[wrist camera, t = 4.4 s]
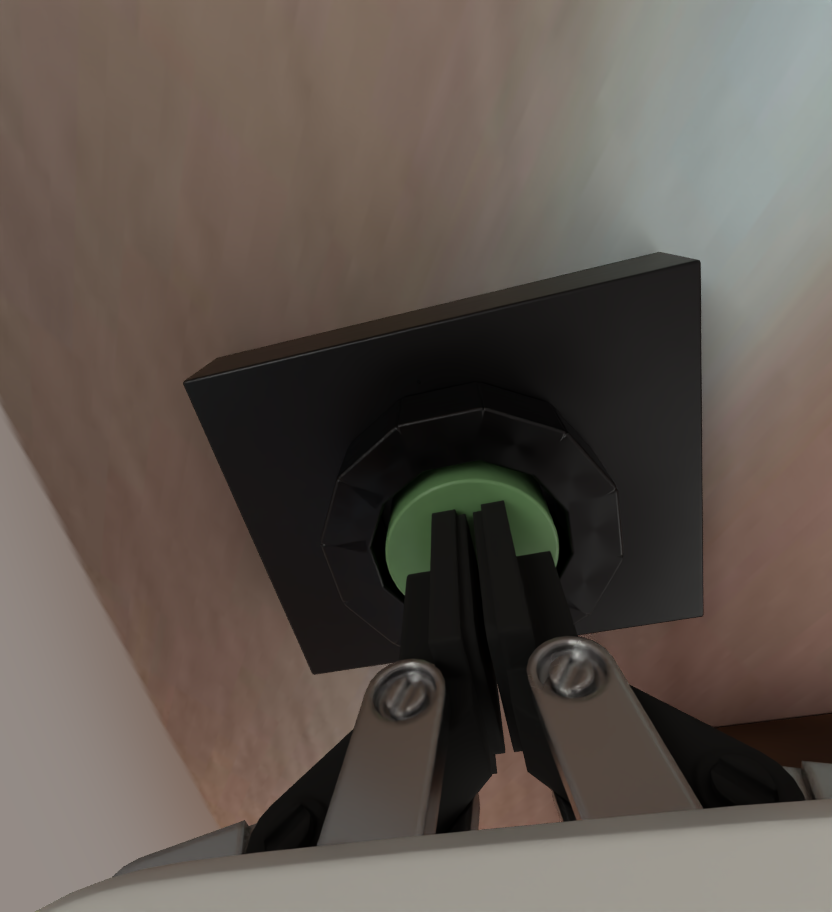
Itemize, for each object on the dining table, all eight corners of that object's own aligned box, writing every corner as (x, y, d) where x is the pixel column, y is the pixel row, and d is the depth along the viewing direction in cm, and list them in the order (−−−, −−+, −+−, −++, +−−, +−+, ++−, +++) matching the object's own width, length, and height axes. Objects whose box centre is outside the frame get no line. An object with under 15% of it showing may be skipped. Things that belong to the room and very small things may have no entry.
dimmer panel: (630, 877, 25) (651, 949, 22) (614, 739, 21) (637, 809, 18) (931, 850, 23) (988, 925, 21) (979, 694, 19) (1057, 765, 17)
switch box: (325, 626, 19) (298, 726, 15) (215, 358, 15) (142, 408, 11) (673, 569, 17) (736, 667, 13) (661, 250, 13) (748, 268, 9)
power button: (411, 588, 15) (408, 633, 13) (373, 463, 13) (364, 498, 11) (554, 564, 14) (569, 608, 13) (533, 430, 12) (547, 463, 11)
